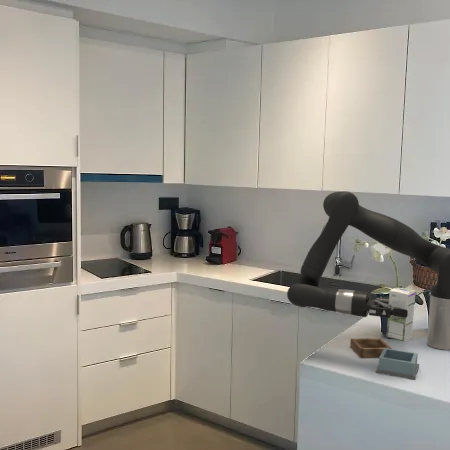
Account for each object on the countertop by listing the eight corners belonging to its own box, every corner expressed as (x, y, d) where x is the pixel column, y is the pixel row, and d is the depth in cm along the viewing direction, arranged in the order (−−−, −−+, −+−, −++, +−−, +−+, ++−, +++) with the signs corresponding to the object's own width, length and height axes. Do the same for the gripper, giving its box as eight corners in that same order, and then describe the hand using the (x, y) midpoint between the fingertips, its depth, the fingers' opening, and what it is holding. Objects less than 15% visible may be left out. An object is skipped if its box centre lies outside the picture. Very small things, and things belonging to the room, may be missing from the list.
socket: (381, 360, 172) (382, 346, 171) (419, 367, 167) (420, 352, 166) (375, 372, 162) (376, 358, 161) (415, 379, 157) (416, 364, 157)
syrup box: (412, 337, 164) (416, 289, 162) (404, 342, 159) (408, 293, 157) (394, 333, 167) (397, 286, 166) (385, 337, 163) (389, 289, 161)
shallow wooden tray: (379, 347, 184) (380, 338, 184) (391, 357, 174) (392, 348, 174) (350, 347, 183) (350, 338, 183) (360, 358, 173) (360, 349, 173)
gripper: (348, 295, 161) (407, 303, 154) (358, 286, 174) (413, 293, 167) (346, 320, 162) (405, 329, 155) (356, 309, 175) (411, 317, 168)
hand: (409, 310), depth 161 cm, fingers closed on syrup box, 7 cm apart
